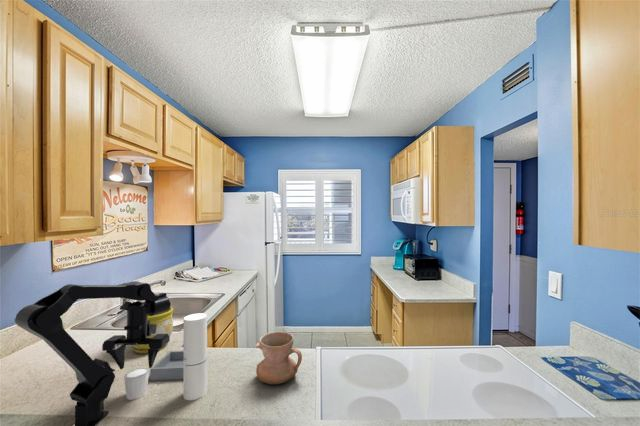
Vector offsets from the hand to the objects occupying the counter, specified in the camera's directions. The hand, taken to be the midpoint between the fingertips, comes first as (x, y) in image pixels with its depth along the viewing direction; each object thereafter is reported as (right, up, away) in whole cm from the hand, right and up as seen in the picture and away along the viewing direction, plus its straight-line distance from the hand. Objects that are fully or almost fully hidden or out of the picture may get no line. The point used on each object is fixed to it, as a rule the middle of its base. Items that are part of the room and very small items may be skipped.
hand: (136, 368), depth 91 cm
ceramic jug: (+46, -8, +8) cm, 47 cm away
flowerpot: (-17, -10, +35) cm, 40 cm away
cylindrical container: (+20, -8, 0) cm, 21 cm away
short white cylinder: (0, -9, 0) cm, 9 cm away
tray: (+6, -9, +15) cm, 19 cm away
